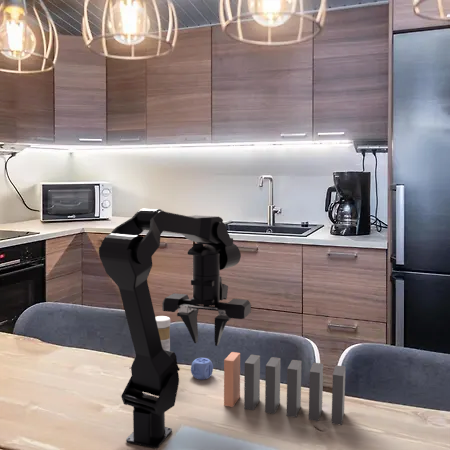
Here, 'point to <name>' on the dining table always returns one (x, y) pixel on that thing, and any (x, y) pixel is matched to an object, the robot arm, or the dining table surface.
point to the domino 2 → (252, 382)
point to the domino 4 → (294, 388)
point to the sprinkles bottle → (164, 331)
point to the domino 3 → (272, 385)
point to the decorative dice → (202, 368)
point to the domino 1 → (231, 379)
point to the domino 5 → (315, 391)
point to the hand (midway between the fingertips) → (206, 344)
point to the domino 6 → (338, 394)
